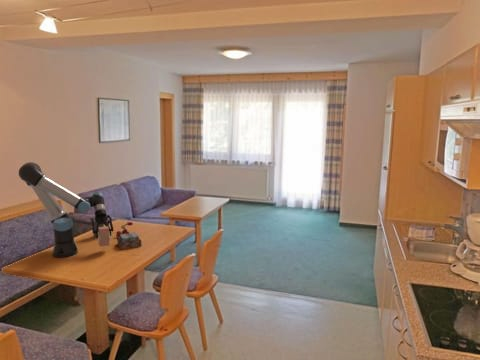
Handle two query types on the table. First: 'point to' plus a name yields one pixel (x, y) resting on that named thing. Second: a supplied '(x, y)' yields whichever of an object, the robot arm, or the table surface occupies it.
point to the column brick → (103, 236)
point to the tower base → (129, 244)
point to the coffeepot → (99, 224)
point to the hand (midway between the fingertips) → (104, 240)
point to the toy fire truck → (124, 229)
